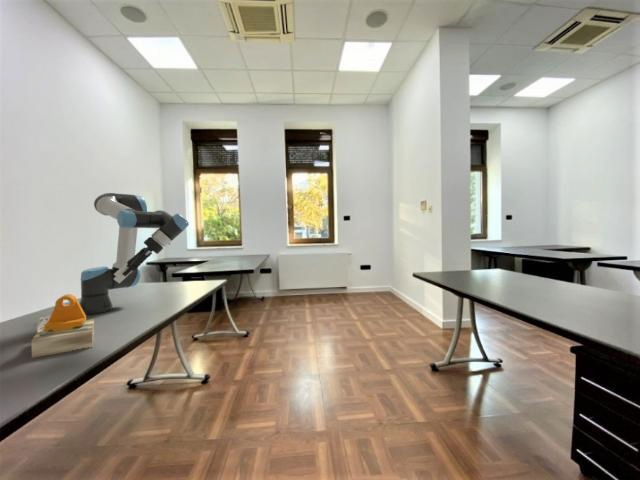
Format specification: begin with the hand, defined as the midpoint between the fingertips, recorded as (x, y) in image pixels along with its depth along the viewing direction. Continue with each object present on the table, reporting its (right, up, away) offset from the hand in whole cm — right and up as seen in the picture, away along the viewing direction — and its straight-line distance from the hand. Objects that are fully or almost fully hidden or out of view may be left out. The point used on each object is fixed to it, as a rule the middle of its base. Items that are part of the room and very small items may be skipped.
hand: (116, 278), depth 120 cm
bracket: (-11, -17, -11) cm, 23 cm away
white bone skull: (-27, -23, +2) cm, 36 cm away
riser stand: (-11, -23, -11) cm, 28 cm away
